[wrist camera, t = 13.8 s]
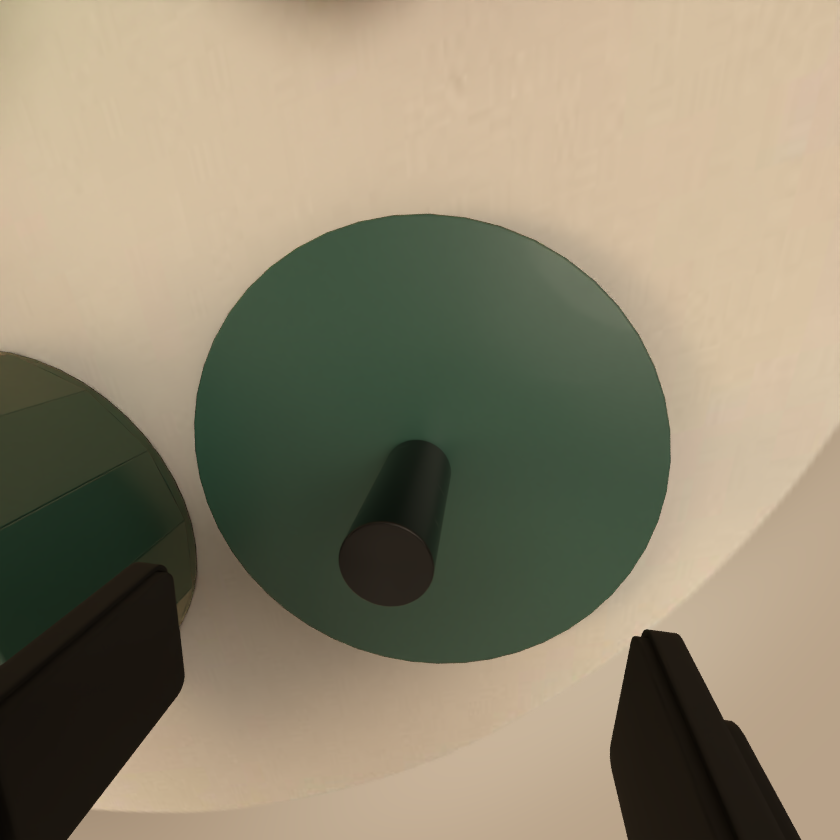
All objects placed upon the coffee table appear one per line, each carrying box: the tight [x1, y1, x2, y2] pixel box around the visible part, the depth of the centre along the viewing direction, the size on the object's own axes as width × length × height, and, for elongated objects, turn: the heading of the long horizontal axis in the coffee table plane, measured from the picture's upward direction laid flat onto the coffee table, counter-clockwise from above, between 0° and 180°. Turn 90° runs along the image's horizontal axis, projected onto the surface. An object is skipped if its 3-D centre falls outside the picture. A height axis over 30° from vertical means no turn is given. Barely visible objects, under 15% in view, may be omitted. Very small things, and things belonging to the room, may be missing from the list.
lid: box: [194, 214, 671, 664], centre depth 15 cm, size 17×17×7 cm
